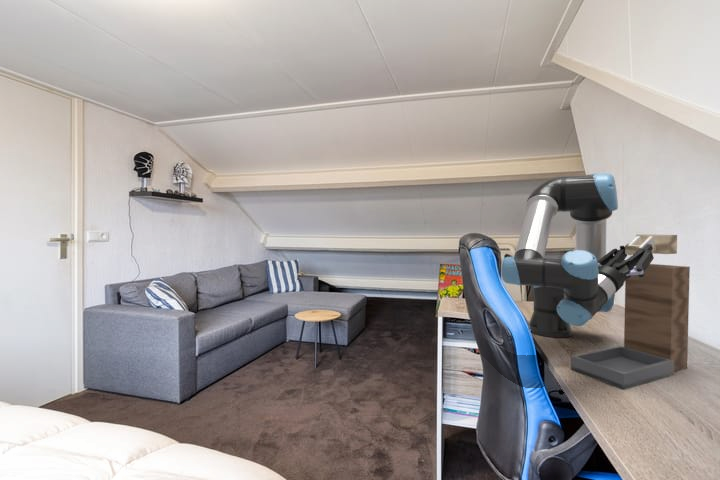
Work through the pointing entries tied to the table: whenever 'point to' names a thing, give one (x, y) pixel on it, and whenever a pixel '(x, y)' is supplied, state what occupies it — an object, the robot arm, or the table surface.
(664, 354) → the plinth
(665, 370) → the tray
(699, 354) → the table surface
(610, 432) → the table surface
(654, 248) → the mallet
